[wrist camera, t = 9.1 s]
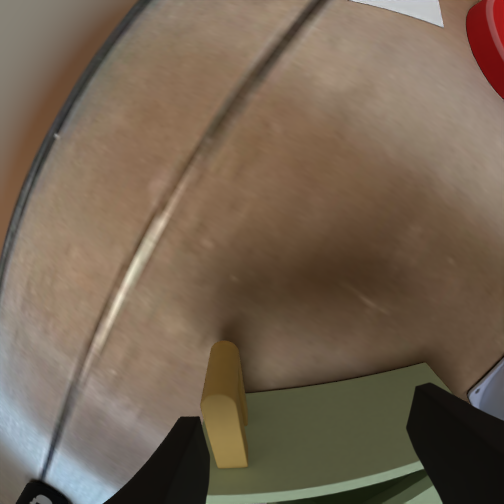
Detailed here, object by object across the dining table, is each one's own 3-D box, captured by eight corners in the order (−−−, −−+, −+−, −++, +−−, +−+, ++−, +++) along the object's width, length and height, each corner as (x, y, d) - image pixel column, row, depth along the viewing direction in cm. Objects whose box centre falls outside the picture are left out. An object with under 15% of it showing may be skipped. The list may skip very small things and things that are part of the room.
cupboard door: (192, 328, 19) (161, 423, 11) (433, 296, 19) (514, 355, 11) (209, 406, 21) (195, 504, 12) (423, 372, 21) (481, 444, 12)
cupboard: (264, 475, 23) (270, 559, 14) (426, 371, 21) (486, 445, 12) (333, 513, 25) (348, 576, 16) (462, 432, 23) (503, 489, 14)
